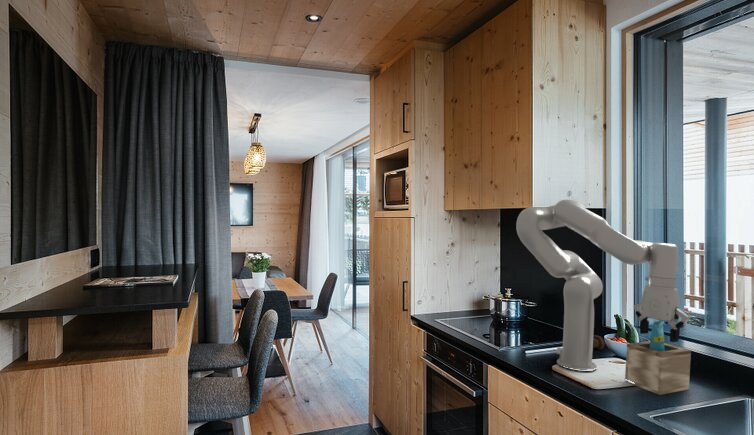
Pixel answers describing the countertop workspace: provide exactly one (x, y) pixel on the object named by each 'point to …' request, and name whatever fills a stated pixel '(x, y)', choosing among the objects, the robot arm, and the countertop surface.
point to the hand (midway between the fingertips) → (658, 337)
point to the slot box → (658, 367)
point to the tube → (657, 337)
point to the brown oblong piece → (598, 342)
